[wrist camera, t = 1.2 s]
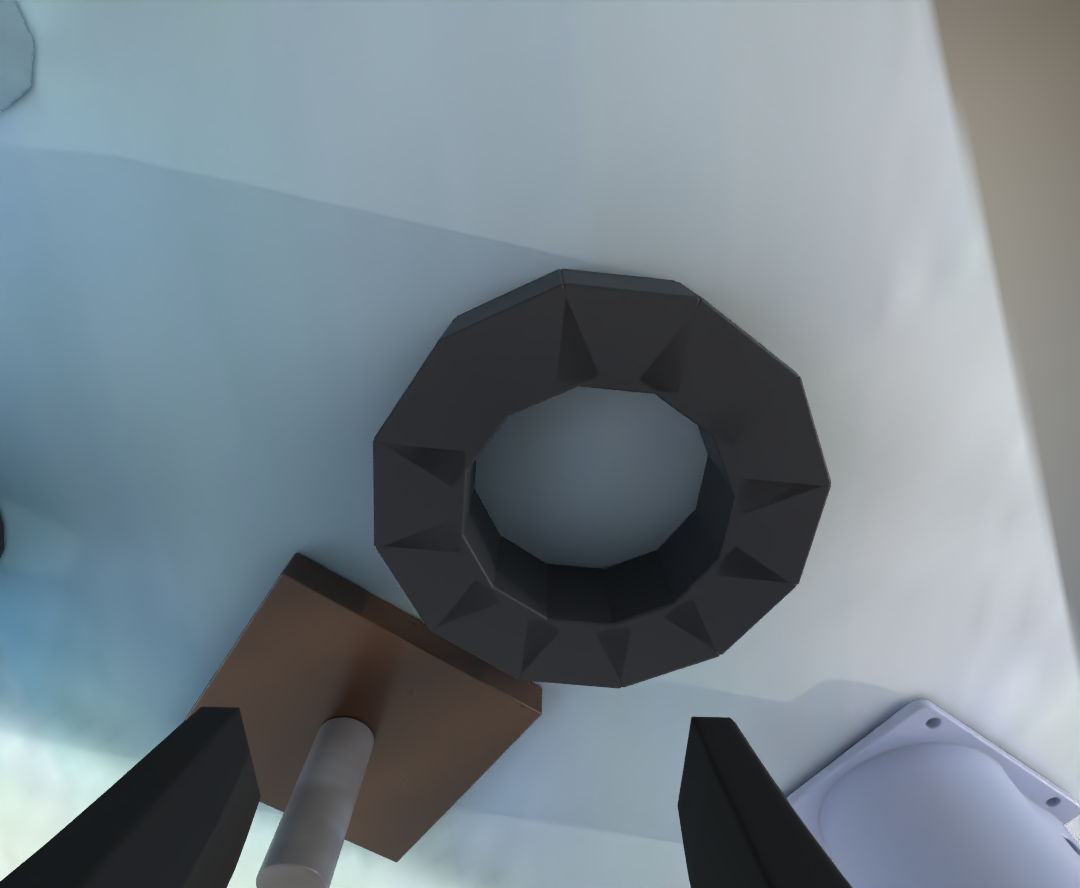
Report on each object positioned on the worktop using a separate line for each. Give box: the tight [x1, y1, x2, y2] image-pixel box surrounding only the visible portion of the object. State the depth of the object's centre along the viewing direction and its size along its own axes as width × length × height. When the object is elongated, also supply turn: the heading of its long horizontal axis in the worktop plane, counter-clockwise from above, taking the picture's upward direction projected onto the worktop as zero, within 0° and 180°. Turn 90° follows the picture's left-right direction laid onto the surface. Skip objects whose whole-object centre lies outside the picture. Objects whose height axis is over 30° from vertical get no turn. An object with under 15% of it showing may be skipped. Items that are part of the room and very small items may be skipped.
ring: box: [373, 269, 831, 688], centre depth 17 cm, size 12×12×3 cm
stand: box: [184, 553, 542, 888], centre depth 19 cm, size 10×10×6 cm
